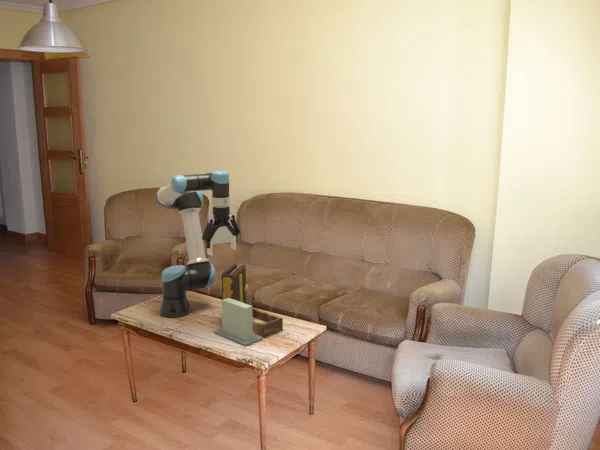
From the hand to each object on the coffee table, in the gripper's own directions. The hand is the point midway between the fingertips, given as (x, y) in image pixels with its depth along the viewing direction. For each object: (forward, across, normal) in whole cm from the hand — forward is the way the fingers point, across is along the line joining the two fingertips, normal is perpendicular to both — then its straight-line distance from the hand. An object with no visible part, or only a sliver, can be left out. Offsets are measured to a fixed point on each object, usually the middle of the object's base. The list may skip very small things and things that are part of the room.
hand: (221, 252), depth 242 cm
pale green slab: (+36, -2, -13) cm, 38 cm away
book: (+37, +12, +5) cm, 39 cm away
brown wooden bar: (+36, +7, -13) cm, 39 cm away
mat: (+36, -2, -13) cm, 39 cm away
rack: (+36, +11, -13) cm, 40 cm away
